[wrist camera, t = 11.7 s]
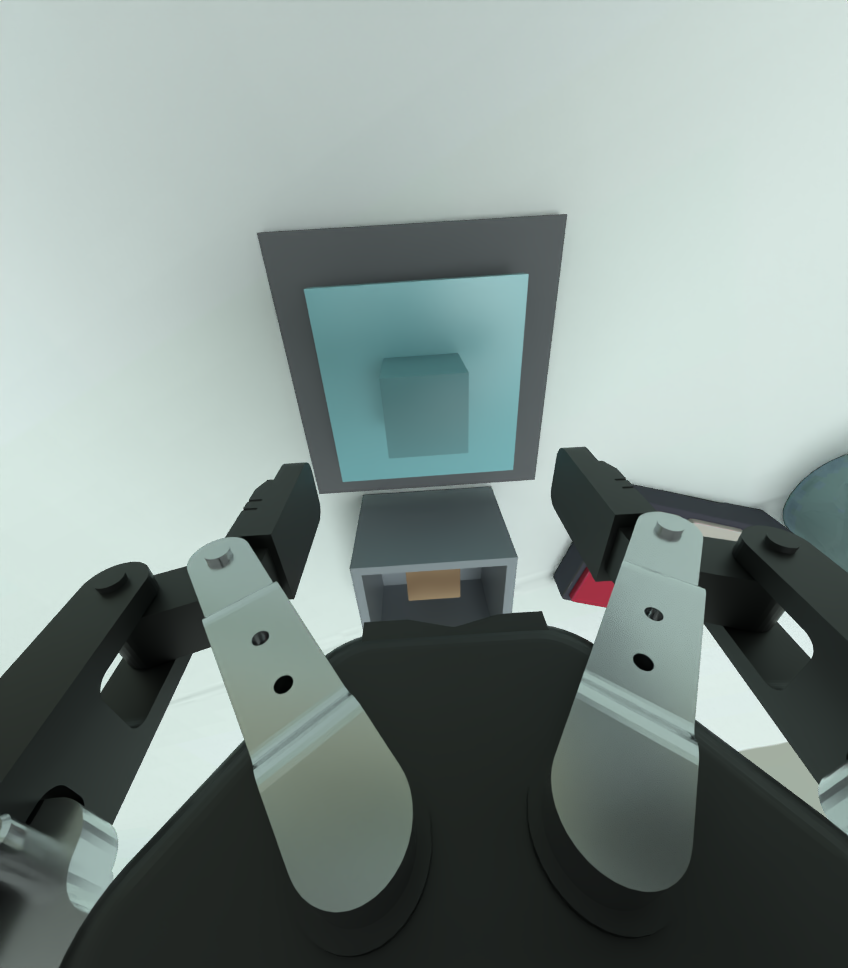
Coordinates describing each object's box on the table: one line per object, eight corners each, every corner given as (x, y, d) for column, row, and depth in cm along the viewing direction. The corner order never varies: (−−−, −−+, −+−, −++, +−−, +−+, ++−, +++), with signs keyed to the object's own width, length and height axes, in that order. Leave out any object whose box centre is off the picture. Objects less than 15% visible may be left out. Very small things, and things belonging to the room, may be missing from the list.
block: (404, 527, 30) (404, 562, 26) (454, 524, 30) (460, 558, 26) (408, 564, 32) (408, 600, 28) (454, 561, 32) (460, 597, 28)
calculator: (627, 502, 26) (809, 542, 28) (602, 473, 30) (764, 509, 31) (562, 606, 32) (717, 633, 33) (548, 570, 35) (688, 597, 37)
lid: (315, 285, 20) (279, 295, 14) (514, 272, 20) (557, 277, 15) (348, 462, 26) (332, 519, 20) (503, 451, 26) (531, 505, 20)
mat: (263, 233, 20) (257, 232, 19) (560, 216, 20) (567, 214, 19) (322, 486, 28) (319, 493, 27) (530, 472, 28) (534, 479, 27)
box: (363, 495, 29) (349, 568, 22) (491, 486, 29) (517, 557, 22) (378, 585, 34) (371, 668, 27) (486, 578, 34) (506, 658, 27)
